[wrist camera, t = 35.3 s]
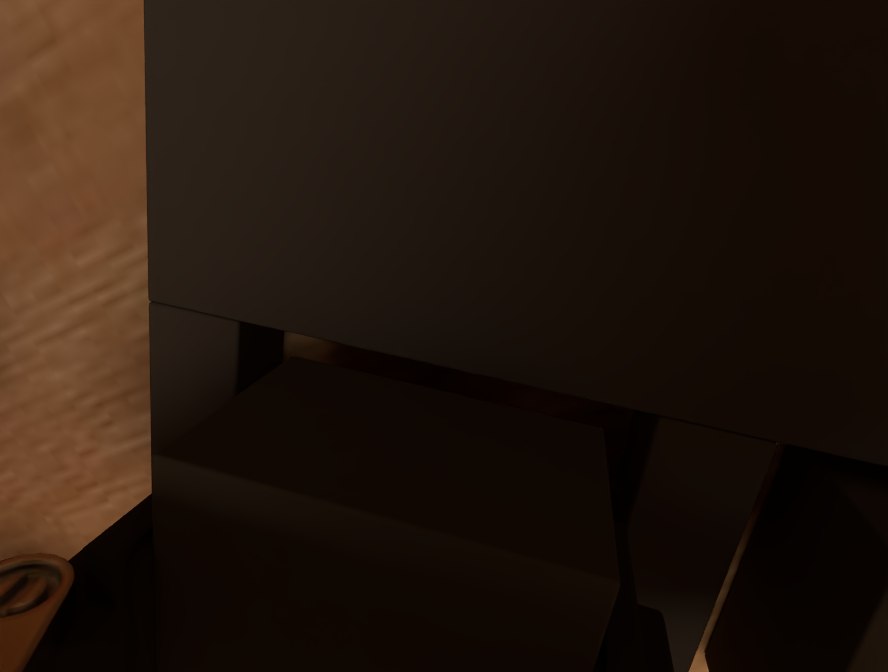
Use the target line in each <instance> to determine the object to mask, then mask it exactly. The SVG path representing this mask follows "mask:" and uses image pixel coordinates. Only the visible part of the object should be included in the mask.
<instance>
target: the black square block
mask: <svg viewBox="0 0 888 672" xmlns="http://www.w3.org/2000/svg"><path fill="white" fill-rule="evenodd" d="M151 469H152V522H153V558H154V612H155V665H156V672H593V669H594V666H595V663H596V660H597V657H598V653H599V650H600V647H601V644H602V641H603V638H604V635H605V632H606V629H607V625H608V622H609V619H610V616H611V613H612V610H613V607H614V604H615V601H616V597H617V594H618V591H619V588H620V579H619V570H618V560H617V551H616V542H615V533H614V523H613V514H612V505H611V496H610V486H609V477H608V468H607V459H606V449H605V440H604V432H603V429H601V428H598V427H594V426H589V425H585V424H581V423H577V422H572V421H568V420H564V419H560V418H555V417H551V416H547V415H543V414H538V413H534V412H530V411H525V410H521V409H517V408H513V407H508V406H504V405H500V404H496V403H491V402H487V401H483V400H479V399H474V398H470V397H466V396H462V395H457V394H453V393H449V392H444V391H440V390H436V389H432V388H427V387H423V386H419V385H415V384H410V383H406V382H402V381H398V380H393V379H389V378H385V377H381V376H376V375H372V374H368V373H364V372H359V371H355V370H351V369H346V368H342V367H338V366H334V365H329V364H325V363H321V362H317V361H312V360H308V359H304V358H300V357H295V356H293V357H290V358H289V359H288V360H286V361H285V362H283V363H282V364H281V365H279V366H278V367H276V368H275V369H273V370H272V371H271V372H269V373H268V374H266V375H265V376H264V377H262V378H261V379H259V380H258V381H256V382H255V383H254V384H252V385H251V386H249V387H248V388H247V389H245V390H244V391H242V392H241V393H239V394H238V395H237V396H235V397H234V398H232V399H231V400H230V401H228V402H227V403H225V404H224V405H223V406H221V407H220V408H218V409H217V410H215V411H214V412H213V413H211V414H210V415H208V416H207V417H206V418H204V419H203V420H201V421H200V422H198V423H197V424H196V425H194V426H193V427H191V428H190V429H189V430H187V431H186V432H184V433H183V434H181V435H180V436H179V437H177V438H176V439H174V440H173V441H172V442H170V443H169V444H167V445H166V446H164V447H163V448H162V449H160V450H159V451H157V452H156V453H155V454H154V455H153V456H152V459H151Z"/></svg>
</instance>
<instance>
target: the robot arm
mask: <svg viewBox="0 0 888 672" xmlns="http://www.w3.org/2000/svg"><path fill="white" fill-rule="evenodd" d="M613 523H614V533H615V542H616V551H617V560H618V570H619V579H620V588H619V591H618V594H617V597H616V601H615V604H614V607H613V610H612V613H611V616H610V619H609V622H608V625H607V629H606V632H605V635H604V638H603V641H602V644H601V647H600V650H599V653H598V657H597V660H596V663H595V666H594V669H593V672H674V667H673V662H672V656H671V651H670V646H669V641H668V636H667V631H666V626H665V621H664V618H663V614H662V613H661V612H660V610H656V609H653V608H649V607H646V606H642V605H639V604H638V603H637V596H636V589H635V582H634V575H633V568H632V561H631V554H630V547H629V540H628V533H627V527H626V525H625V524H622V523H618V522H614V521H613ZM0 672H156V665H155V612H154V558H153V522H152V494H151V495H149V496H148V497H147V498H145V499H144V500H143V501H142V502H140V503H139V504H138V505H137V506H135V507H134V508H133V509H132V510H130V511H129V512H128V513H127V514H125V515H124V516H123V517H122V518H120V519H119V520H118V521H117V522H115V523H114V524H113V525H112V526H110V527H109V528H108V529H107V530H105V531H104V532H103V533H102V534H100V535H99V536H98V537H97V538H95V539H94V540H93V541H92V542H90V543H89V544H88V545H87V546H85V547H84V548H83V549H82V550H81V551H80V552H79V553H77V554H76V555H75V556H74V557H72V558H71V559H70V560H69V561H67V560H66V559H64V558H61V557H59V556H57V555H52V554H43V553H37V554H26V555H21V556H17V557H13V558H9V559H5V560H3V561H0Z"/></svg>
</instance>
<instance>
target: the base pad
mask: <svg viewBox="0 0 888 672" xmlns="http://www.w3.org/2000/svg"><path fill="white" fill-rule="evenodd" d="M144 42H145V105H146V169H147V232H148V295H149V300H150V301H151V302H150V304H149V336H150V400H151V459H152V456H153V455H154V454H155V453H156V452H157V451H159V450H160V449H162V448H163V447H164V446H166V445H167V444H169V443H170V442H172V441H173V440H174V439H176V438H177V437H179V436H180V435H181V434H183V433H184V432H186V431H187V430H189V429H190V428H191V427H193V426H194V425H196V424H197V423H198V422H200V421H201V420H203V419H204V418H206V417H207V416H208V415H210V414H211V413H213V412H214V411H215V410H217V409H218V408H220V407H221V406H223V405H224V404H225V403H227V402H228V401H230V400H231V399H232V398H234V397H235V396H237V395H238V394H239V393H241V392H242V391H244V390H245V389H247V388H248V387H249V386H251V385H252V384H254V383H255V382H256V381H258V380H259V379H261V378H262V377H264V376H265V375H266V374H268V373H269V372H271V371H272V370H273V369H275V368H276V367H278V366H279V365H280V364H281V349H282V334H283V331H287V332H292V333H296V334H301V335H305V336H309V337H314V338H318V339H323V340H327V341H332V342H336V343H340V344H345V345H349V346H354V347H358V348H363V349H367V350H372V351H376V352H380V353H385V354H389V355H394V356H398V357H403V358H407V359H412V360H416V361H420V362H425V363H429V364H434V365H438V366H443V367H447V368H451V369H456V370H460V371H465V372H469V373H474V374H478V375H483V376H487V377H491V378H496V379H500V380H505V381H509V382H514V383H518V384H523V385H527V386H531V387H536V388H540V389H545V390H549V391H554V392H558V393H562V394H567V395H571V396H576V397H580V398H585V399H589V400H594V401H598V402H602V403H607V404H611V405H616V406H620V407H625V408H629V409H634V410H635V414H634V417H633V420H632V424H631V427H630V431H629V434H628V437H627V441H626V444H625V448H624V451H623V454H622V458H621V461H620V465H619V468H618V471H617V475H616V478H615V482H614V485H613V488H612V492H611V495H610V496H611V505H612V514H613V521H614V522H618V523H622V524H625V525H626V527H627V533H628V540H629V547H630V554H631V561H632V568H633V575H634V582H635V589H636V596H637V603H638V604H639V605H642V606H646V607H649V608H653V609H656V610H660V612H661V613H662V614H663V618H664V621H665V626H666V631H667V636H668V641H669V646H670V651H671V656H672V662H673V667H674V672H688V671H689V669H690V666H691V664H692V661H693V659H694V656H695V654H696V651H697V649H698V646H699V643H700V641H701V638H702V636H703V633H704V631H705V628H706V626H707V623H708V621H709V618H710V615H711V613H712V610H713V608H714V605H715V603H716V600H717V598H718V595H719V593H720V590H721V587H722V585H723V582H724V580H725V577H726V575H727V572H728V570H729V567H730V565H731V562H732V559H733V557H734V554H735V552H736V549H737V547H738V544H739V542H740V539H741V537H742V534H743V531H744V529H745V526H746V524H747V521H748V519H749V516H750V514H751V511H752V509H753V506H754V503H755V501H756V498H757V496H758V493H759V491H760V488H761V486H762V483H763V481H764V478H765V475H766V473H767V470H768V468H769V465H770V463H771V460H772V458H773V455H774V453H775V450H776V447H777V443H776V442H780V443H784V444H789V445H793V446H798V447H802V448H807V449H811V450H816V451H820V452H824V453H829V454H833V455H838V456H842V457H847V458H851V459H855V460H860V461H864V462H869V463H873V464H878V465H882V466H887V467H888V0H144Z"/></svg>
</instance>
